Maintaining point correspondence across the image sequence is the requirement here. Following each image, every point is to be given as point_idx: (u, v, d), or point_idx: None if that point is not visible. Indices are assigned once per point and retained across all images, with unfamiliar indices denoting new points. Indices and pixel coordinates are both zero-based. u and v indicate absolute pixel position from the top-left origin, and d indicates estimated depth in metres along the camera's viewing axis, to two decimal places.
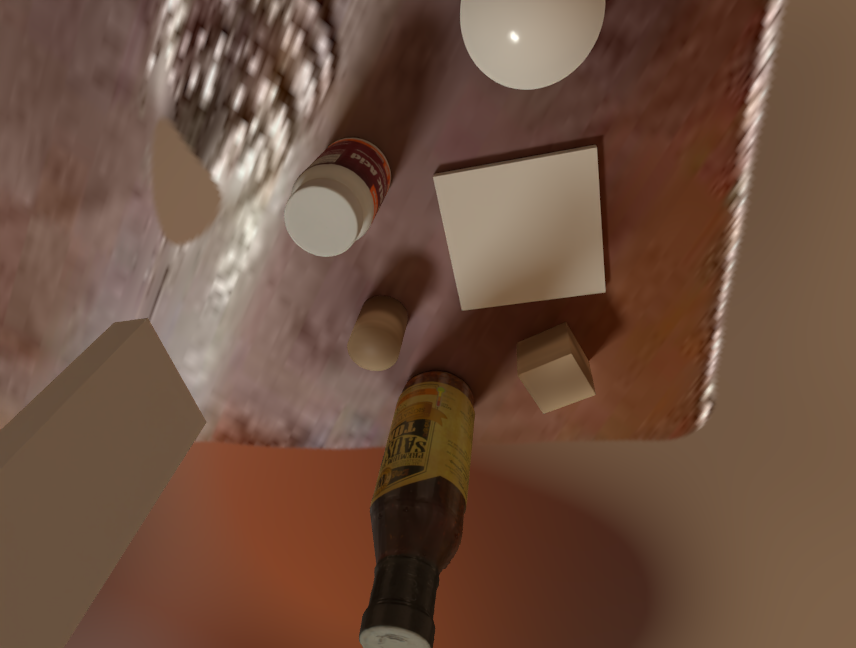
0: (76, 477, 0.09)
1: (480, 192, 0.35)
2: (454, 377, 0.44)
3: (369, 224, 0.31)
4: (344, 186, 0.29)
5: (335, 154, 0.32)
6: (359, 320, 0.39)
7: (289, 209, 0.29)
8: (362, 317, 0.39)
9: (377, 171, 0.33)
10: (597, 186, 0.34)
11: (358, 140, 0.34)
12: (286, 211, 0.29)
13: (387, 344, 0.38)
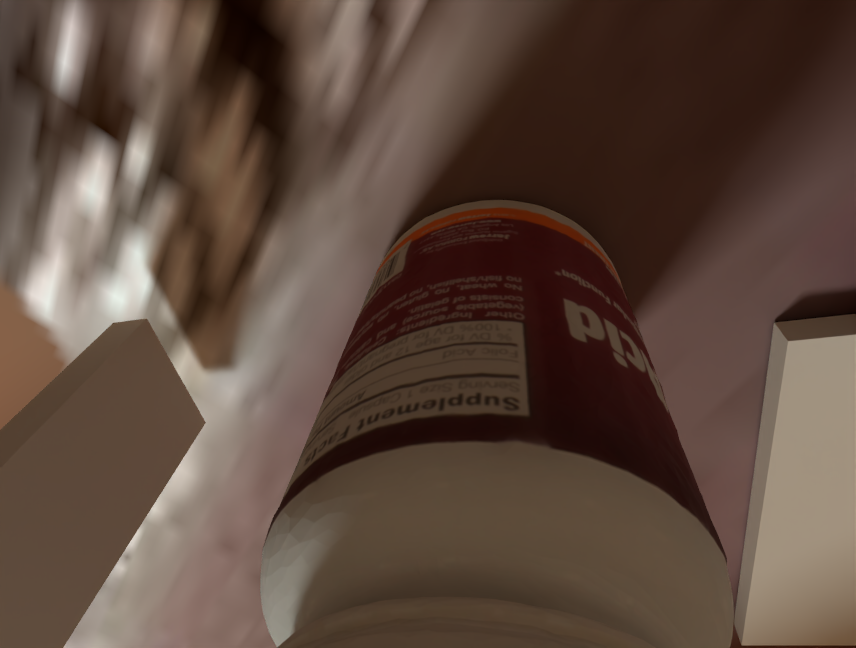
0: (75, 478, 0.09)
1: None
2: None
3: None
4: None
5: (494, 323, 0.06)
6: None
7: None
8: None
9: (654, 371, 0.07)
10: None
11: (536, 218, 0.09)
12: None
13: None
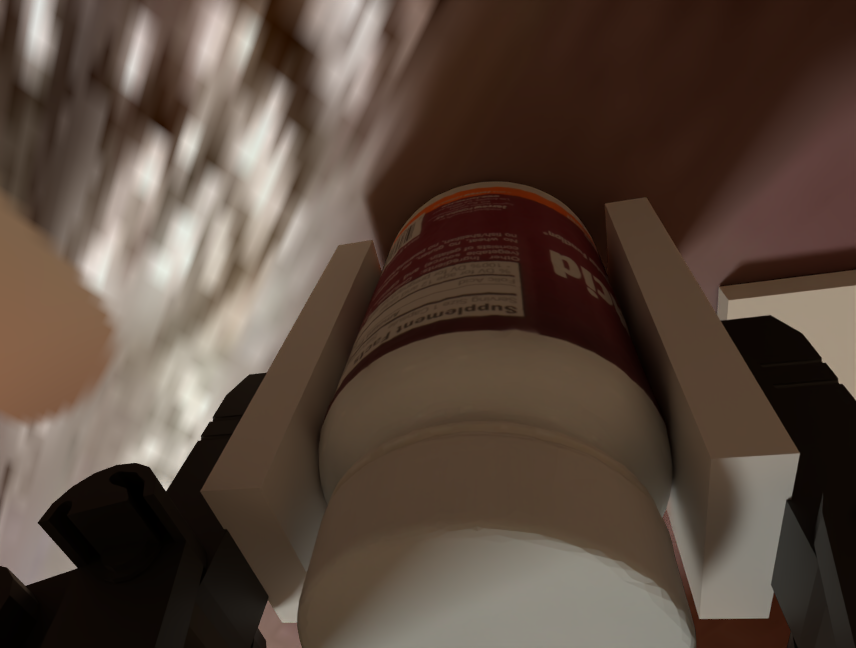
0: None
1: None
2: None
3: None
4: (617, 475, 0.06)
5: (496, 262, 0.08)
6: None
7: (327, 606, 0.05)
8: None
9: (621, 311, 0.09)
10: None
11: (528, 195, 0.11)
12: (310, 610, 0.05)
13: None
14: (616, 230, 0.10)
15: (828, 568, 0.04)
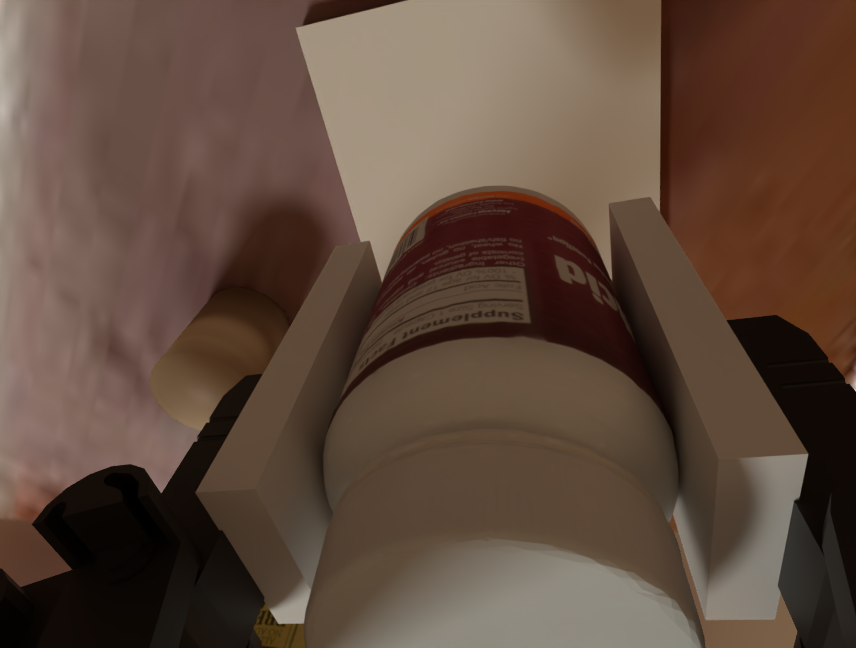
0: None
1: (400, 63, 0.16)
2: None
3: None
4: (626, 483, 0.06)
5: (502, 268, 0.08)
6: None
7: (335, 616, 0.05)
8: (186, 330, 0.20)
9: None
10: (656, 42, 0.15)
11: (531, 199, 0.11)
12: (318, 619, 0.05)
13: (226, 384, 0.19)
14: (620, 230, 0.10)
15: (837, 569, 0.04)
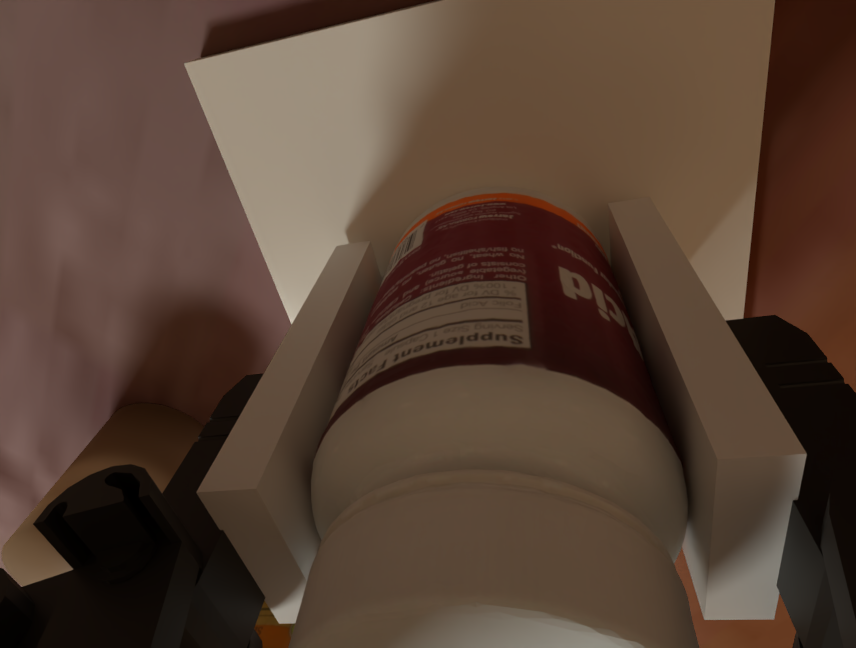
0: None
1: (348, 118, 0.11)
2: None
3: None
4: (631, 532, 0.05)
5: (501, 282, 0.07)
6: (53, 487, 0.14)
7: None
8: (62, 478, 0.14)
9: None
10: (759, 89, 0.09)
11: (536, 202, 0.10)
12: None
13: None
14: (619, 230, 0.10)
15: (835, 569, 0.04)
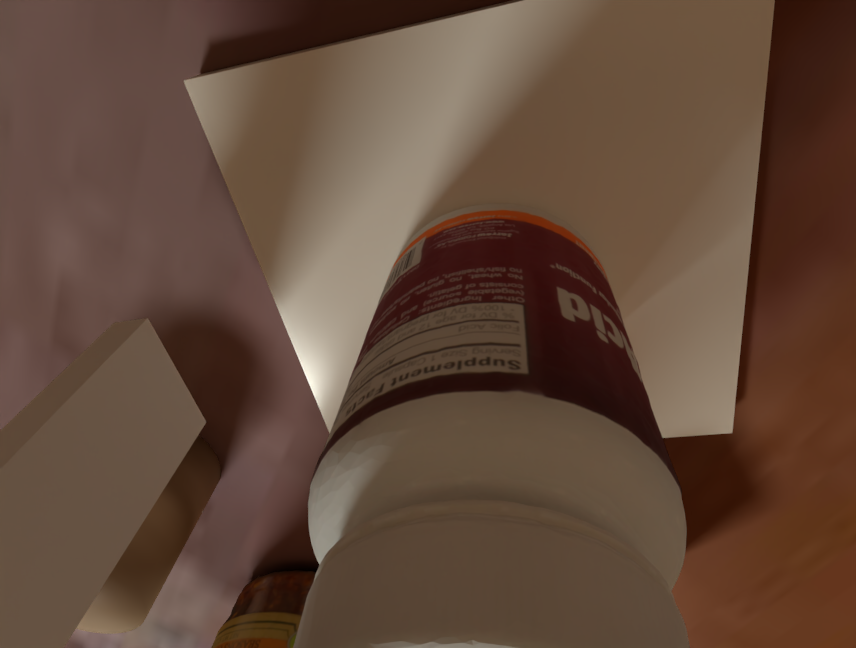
0: (76, 477, 0.09)
1: (347, 135, 0.11)
2: None
3: None
4: (629, 564, 0.05)
5: (500, 304, 0.07)
6: None
7: None
8: None
9: (632, 349, 0.09)
10: (757, 108, 0.10)
11: (534, 219, 0.10)
12: None
13: (106, 584, 0.13)
14: None
15: None
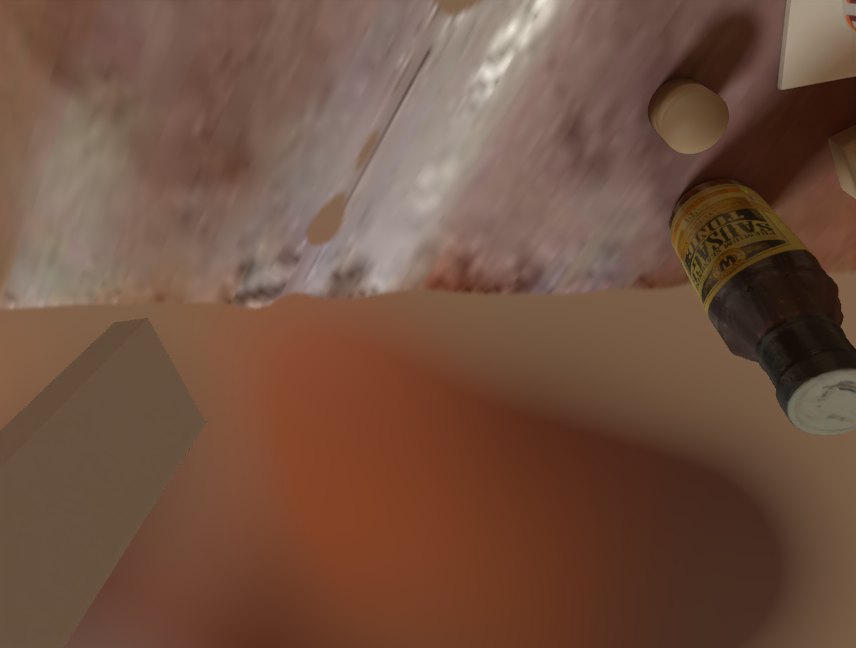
0: (76, 477, 0.09)
1: None
2: None
3: None
4: None
5: None
6: (673, 93, 0.34)
7: None
8: (676, 90, 0.34)
9: None
10: None
11: None
12: None
13: (716, 114, 0.33)
14: None
15: None
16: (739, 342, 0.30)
